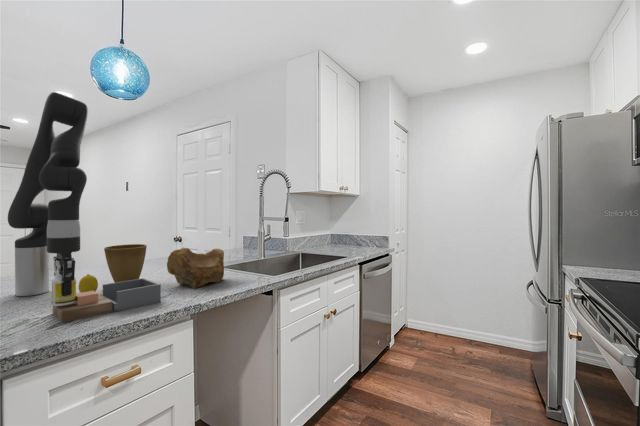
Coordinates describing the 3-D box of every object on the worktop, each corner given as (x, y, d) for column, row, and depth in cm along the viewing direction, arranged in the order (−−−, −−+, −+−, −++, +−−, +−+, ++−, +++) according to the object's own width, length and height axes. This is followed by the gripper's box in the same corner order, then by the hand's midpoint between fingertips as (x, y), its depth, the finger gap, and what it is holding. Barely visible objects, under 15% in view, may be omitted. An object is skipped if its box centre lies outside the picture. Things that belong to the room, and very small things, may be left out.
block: (73, 302, 94) (73, 294, 94) (93, 298, 98) (93, 290, 98) (77, 305, 91) (77, 297, 91) (98, 301, 95) (98, 293, 95)
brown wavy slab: (52, 313, 93) (52, 303, 93) (100, 303, 102) (100, 294, 102) (62, 322, 86) (62, 311, 85) (112, 311, 95) (112, 301, 95)
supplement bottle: (80, 302, 92) (80, 269, 92) (59, 307, 87) (59, 272, 87) (68, 300, 94) (68, 267, 94) (47, 305, 89) (47, 271, 89)
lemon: (87, 299, 107) (87, 276, 107) (74, 298, 109) (74, 275, 108) (101, 295, 113) (101, 273, 113) (89, 294, 114) (89, 272, 114)
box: (99, 303, 103) (99, 285, 103) (143, 294, 114) (143, 278, 114) (114, 312, 94) (114, 292, 94) (160, 301, 105) (160, 284, 105)
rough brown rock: (172, 295, 116) (174, 255, 115) (164, 282, 129) (166, 247, 128) (232, 288, 130) (235, 253, 129) (220, 277, 143) (222, 245, 142)
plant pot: (118, 280, 135) (117, 244, 135) (153, 280, 136) (153, 244, 136) (95, 289, 120) (95, 248, 120) (135, 289, 121) (134, 248, 121)
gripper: (86, 236, 89) (86, 295, 89) (73, 233, 98) (73, 287, 98) (52, 238, 83) (52, 301, 83) (42, 234, 92) (42, 291, 92)
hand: (64, 293), depth 91 cm, fingers closed on supplement bottle, 5 cm apart
